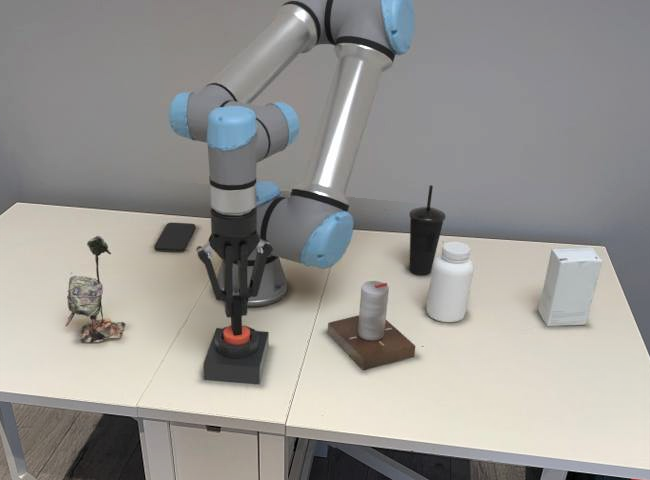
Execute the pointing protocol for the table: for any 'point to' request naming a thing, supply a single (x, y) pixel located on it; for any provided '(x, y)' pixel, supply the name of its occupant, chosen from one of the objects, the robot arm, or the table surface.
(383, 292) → the dial
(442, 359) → the table surface
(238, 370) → the button base
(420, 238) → the drinking cup
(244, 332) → the red push button
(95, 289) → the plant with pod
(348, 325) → the panel
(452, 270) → the pill bottle
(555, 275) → the cosmetic box
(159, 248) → the phone
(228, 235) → the robot arm
